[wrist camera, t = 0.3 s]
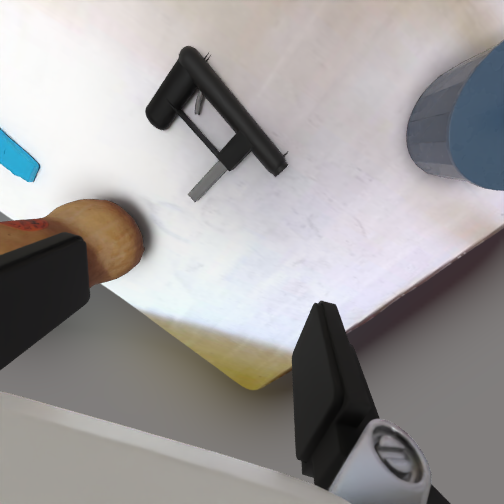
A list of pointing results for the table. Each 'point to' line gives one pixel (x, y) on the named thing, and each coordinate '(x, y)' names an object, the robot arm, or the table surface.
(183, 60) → the door handle
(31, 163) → the sponge
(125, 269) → the butternut squash
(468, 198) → the table surface
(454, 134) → the pot lid
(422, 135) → the pot
